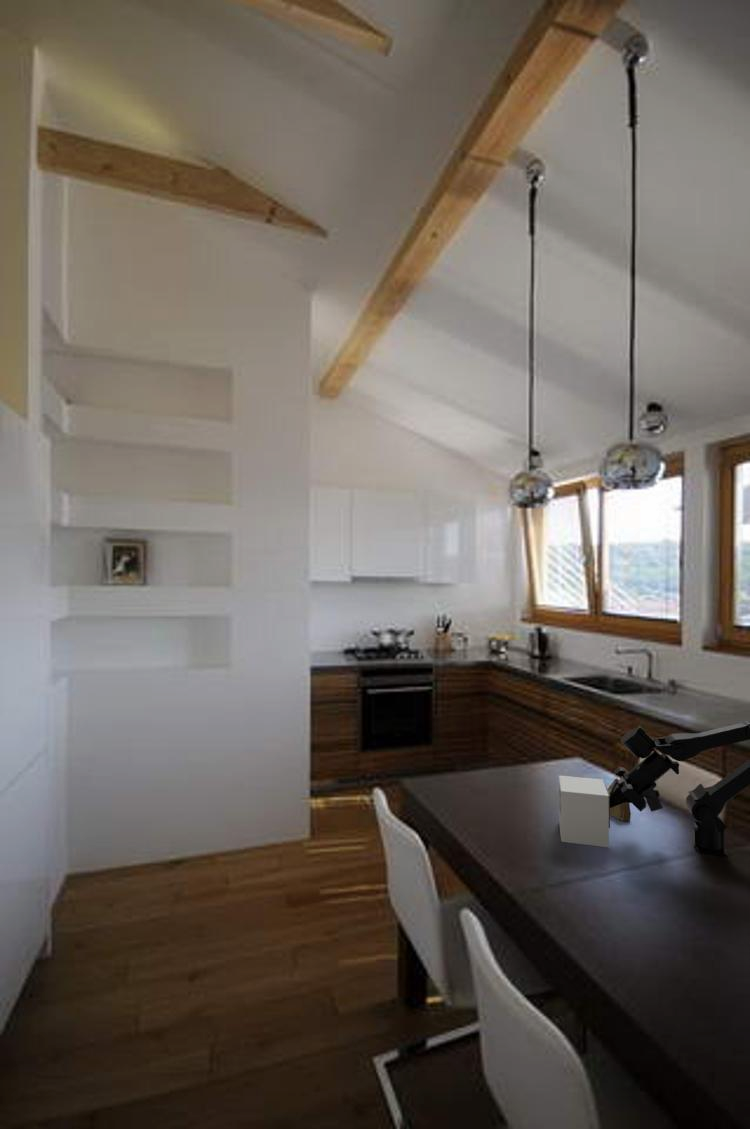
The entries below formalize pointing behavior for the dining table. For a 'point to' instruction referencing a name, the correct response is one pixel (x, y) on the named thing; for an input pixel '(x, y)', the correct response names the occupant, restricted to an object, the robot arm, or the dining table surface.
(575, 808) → the off-white upright box
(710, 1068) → the dining table surface
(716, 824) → the robot arm
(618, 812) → the rock
